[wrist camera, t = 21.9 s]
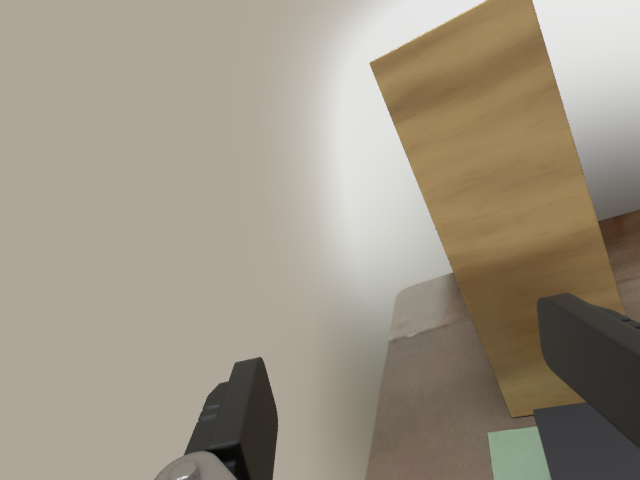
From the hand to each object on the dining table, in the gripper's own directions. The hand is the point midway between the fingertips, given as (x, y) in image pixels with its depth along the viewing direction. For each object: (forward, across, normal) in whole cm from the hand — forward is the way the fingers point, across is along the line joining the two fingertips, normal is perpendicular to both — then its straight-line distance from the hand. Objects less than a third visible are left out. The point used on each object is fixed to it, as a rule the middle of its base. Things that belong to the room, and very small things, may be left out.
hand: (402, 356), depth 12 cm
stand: (+31, -20, +17) cm, 40 cm away
